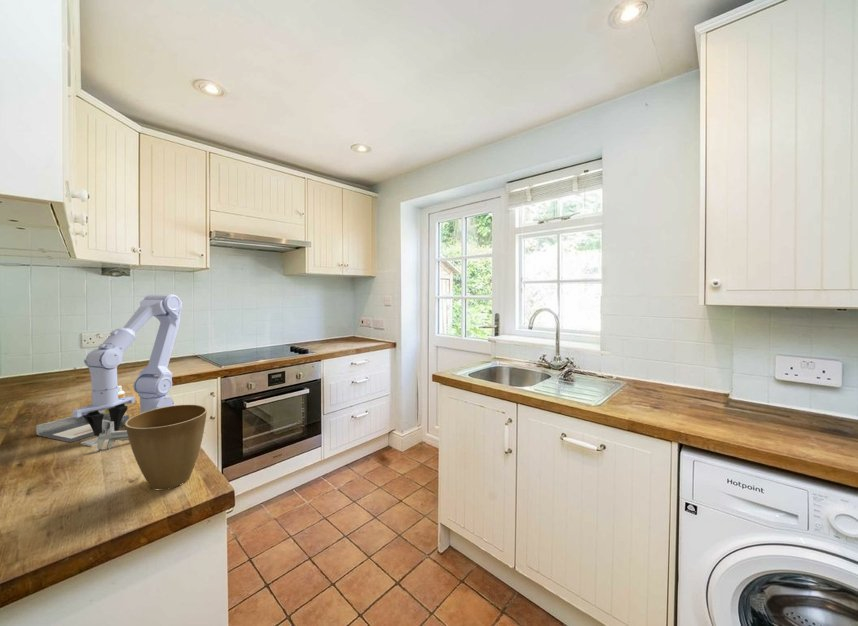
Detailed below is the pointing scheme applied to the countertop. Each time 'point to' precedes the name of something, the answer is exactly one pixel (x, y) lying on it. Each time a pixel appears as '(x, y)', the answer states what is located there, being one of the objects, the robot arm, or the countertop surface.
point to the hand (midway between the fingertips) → (106, 432)
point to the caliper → (111, 438)
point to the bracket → (105, 425)
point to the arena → (71, 428)
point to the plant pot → (167, 443)
